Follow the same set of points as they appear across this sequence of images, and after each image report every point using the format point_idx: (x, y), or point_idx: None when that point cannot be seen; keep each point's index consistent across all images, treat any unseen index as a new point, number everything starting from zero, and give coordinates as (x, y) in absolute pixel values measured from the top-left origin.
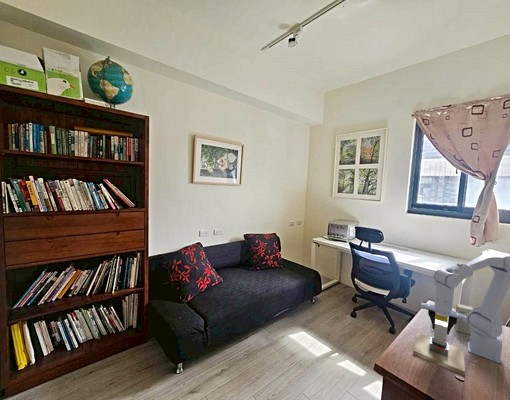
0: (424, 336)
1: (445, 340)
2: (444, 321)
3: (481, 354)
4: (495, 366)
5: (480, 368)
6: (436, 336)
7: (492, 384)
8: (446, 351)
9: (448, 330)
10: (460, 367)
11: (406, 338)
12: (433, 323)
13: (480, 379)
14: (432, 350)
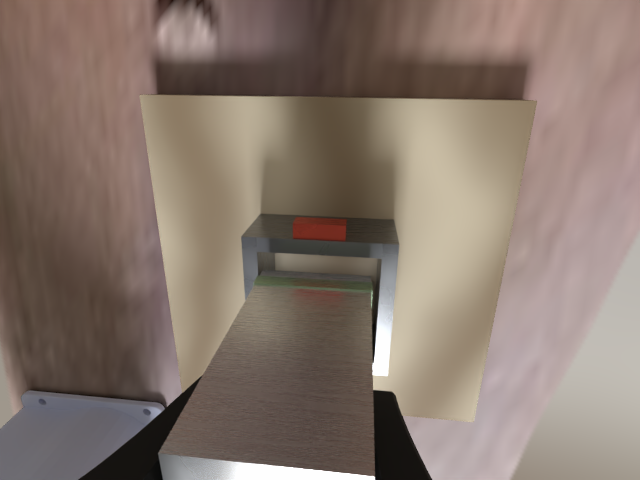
0: (421, 398)
1: (250, 300)
2: None
3: (99, 410)
4: (40, 346)
5: (94, 267)
6: (341, 311)
7: (17, 127)
8: (260, 229)
9: (174, 417)
10: (172, 132)
11: (555, 312)
12: (398, 471)
13: (76, 129)
14: (369, 220)
